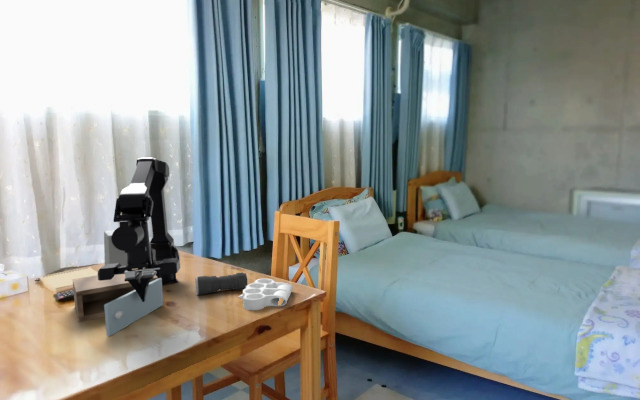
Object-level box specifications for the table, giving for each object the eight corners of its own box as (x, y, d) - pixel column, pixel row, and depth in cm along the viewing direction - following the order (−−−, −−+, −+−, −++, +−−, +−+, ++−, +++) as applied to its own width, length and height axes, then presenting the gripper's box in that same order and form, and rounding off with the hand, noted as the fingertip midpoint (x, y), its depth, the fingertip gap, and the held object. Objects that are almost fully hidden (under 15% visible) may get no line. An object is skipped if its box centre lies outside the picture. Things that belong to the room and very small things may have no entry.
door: (160, 303, 123) (159, 277, 122) (167, 304, 122) (166, 278, 121) (106, 335, 103) (104, 304, 102) (114, 336, 103) (111, 305, 102)
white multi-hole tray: (284, 312, 118) (231, 310, 119) (294, 289, 135) (248, 288, 137) (284, 300, 117) (230, 299, 118) (294, 278, 135) (247, 277, 136)
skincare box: (104, 276, 149) (100, 230, 147) (126, 272, 153) (123, 228, 151) (109, 282, 143) (105, 235, 140) (132, 278, 147) (129, 232, 144)
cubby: (150, 292, 133) (148, 267, 132) (159, 304, 123) (157, 277, 122) (75, 306, 122) (72, 279, 121) (78, 321, 112) (76, 291, 111)
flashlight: (245, 285, 139) (245, 269, 138) (249, 291, 134) (248, 274, 133) (195, 291, 134) (194, 274, 133) (197, 297, 128) (196, 280, 128)
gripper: (180, 232, 119) (186, 287, 121) (108, 238, 116) (114, 294, 118) (173, 241, 108) (179, 301, 110) (93, 247, 105) (101, 309, 107)
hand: (143, 301), depth 112 cm, fingers closed
